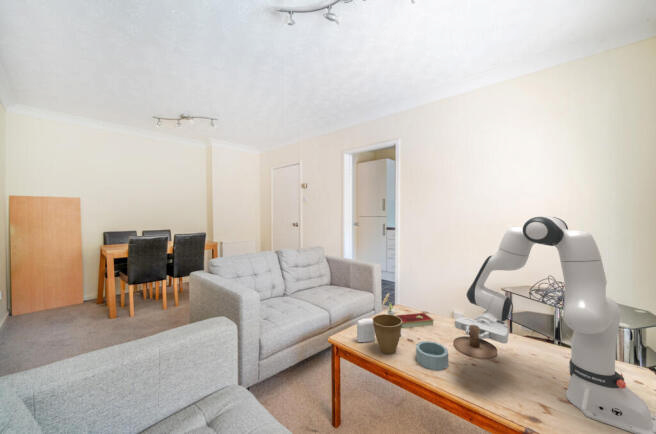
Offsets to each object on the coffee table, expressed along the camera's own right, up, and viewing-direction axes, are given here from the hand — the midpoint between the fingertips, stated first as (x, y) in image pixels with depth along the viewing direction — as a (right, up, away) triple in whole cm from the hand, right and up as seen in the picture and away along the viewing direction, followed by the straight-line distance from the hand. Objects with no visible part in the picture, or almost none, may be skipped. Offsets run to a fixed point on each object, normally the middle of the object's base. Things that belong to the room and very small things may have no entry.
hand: (473, 335), depth 105 cm
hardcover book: (-6, -20, +57) cm, 61 cm away
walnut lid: (+1, -6, +1) cm, 6 cm away
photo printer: (-40, -20, +36) cm, 57 cm away
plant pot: (-30, -20, +26) cm, 44 cm away
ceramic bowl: (-11, -20, +16) cm, 28 cm away
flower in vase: (-24, -20, +42) cm, 53 cm away
